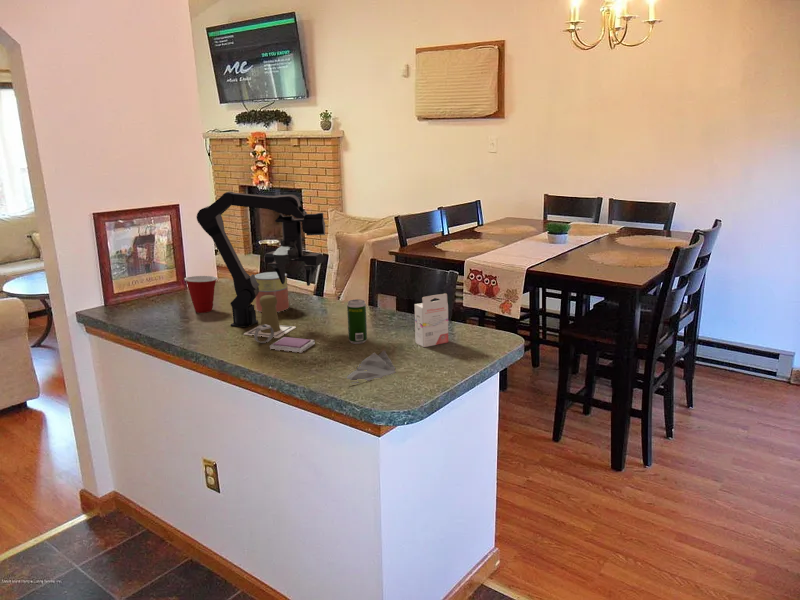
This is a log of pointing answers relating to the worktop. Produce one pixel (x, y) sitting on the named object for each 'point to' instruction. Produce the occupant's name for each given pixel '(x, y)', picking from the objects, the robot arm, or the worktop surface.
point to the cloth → (373, 367)
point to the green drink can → (357, 321)
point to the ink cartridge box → (431, 321)
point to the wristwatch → (263, 329)
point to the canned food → (272, 290)
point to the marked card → (276, 334)
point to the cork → (269, 313)
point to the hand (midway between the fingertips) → (295, 284)
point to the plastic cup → (201, 292)
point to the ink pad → (292, 344)
